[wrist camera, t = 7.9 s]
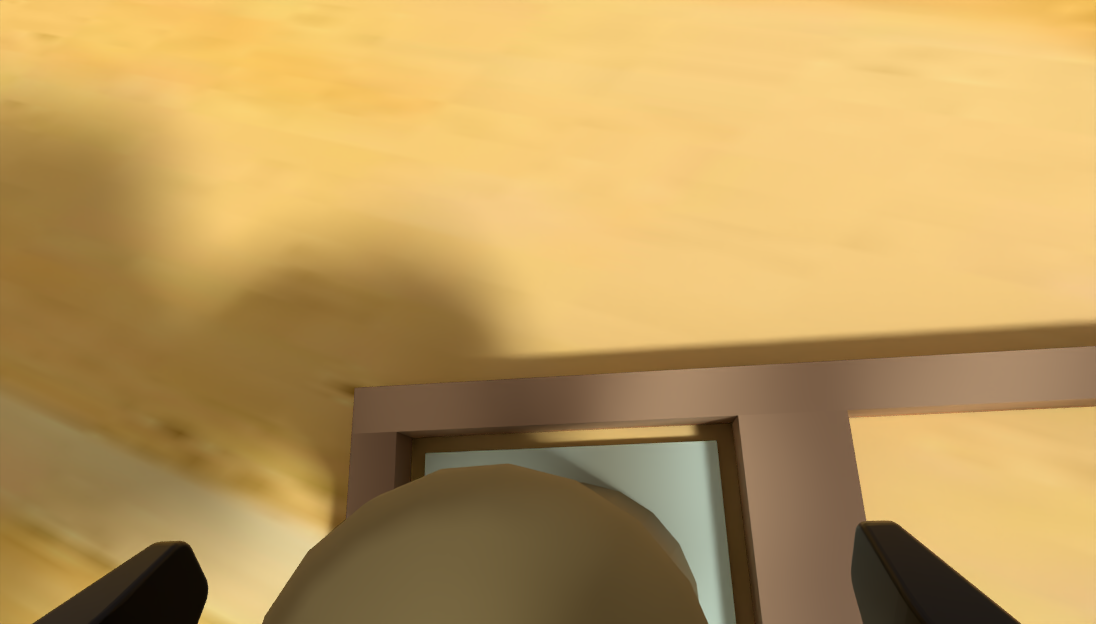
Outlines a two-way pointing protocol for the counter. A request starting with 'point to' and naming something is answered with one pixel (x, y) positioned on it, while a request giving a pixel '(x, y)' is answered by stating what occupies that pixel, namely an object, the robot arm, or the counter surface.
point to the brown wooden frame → (693, 467)
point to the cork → (494, 557)
